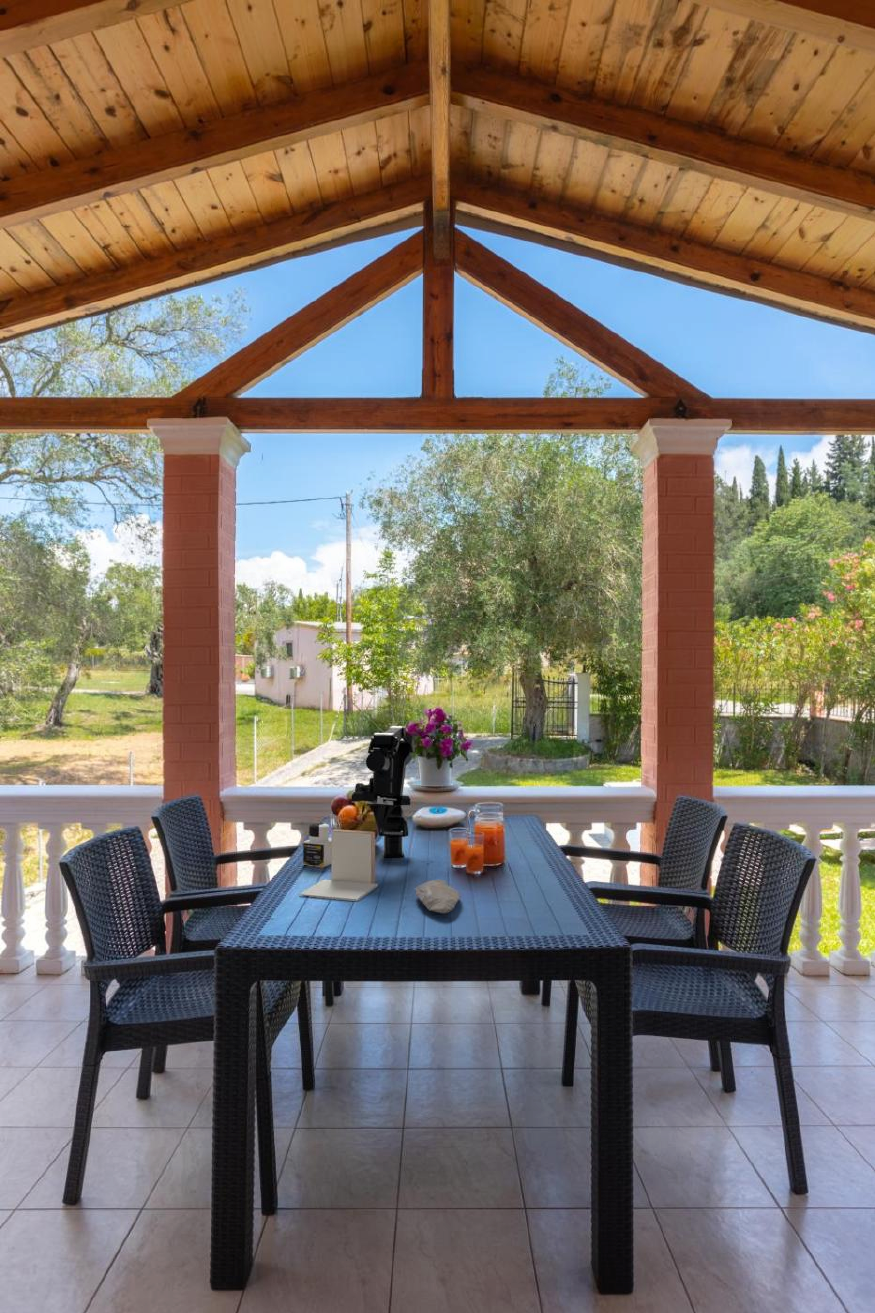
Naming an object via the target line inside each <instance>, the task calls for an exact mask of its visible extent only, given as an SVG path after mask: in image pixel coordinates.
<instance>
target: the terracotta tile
mask: <svg viewBox="0 0 875 1313" xmlns="http://www.w3.org/2000/svg"><path fill="white" fill-rule="evenodd" d="M330 839H331V864H330V865H331V868H330V869H331V874H330V875H331V877H330V878H331V879H330V880H337V881H349V882H361V883H373V884H376V831H370V830H369V831H368V830H367V831H366V830H354V829H353V830H351V829H350V830H349V829H335V828H334V829H332V830H331V838H330Z"/></svg>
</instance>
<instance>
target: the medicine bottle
mask: <svg viewBox="0 0 875 1313" xmlns="http://www.w3.org/2000/svg"><path fill="white" fill-rule="evenodd" d="M308 835H309V836H308V837H309V839H308V840H304V841H303V843H302V844H303V846H302V854H303V856H302V860H303V861H302V865H303V866H304V865H308V866H307V867H313V866H315V867H314V868H325V867H327V866H330V865H331V838H330V825H329V824H327V823H325V822H315V823H312V824H310V825H309V827H308Z"/></svg>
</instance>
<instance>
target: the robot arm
mask: <svg viewBox="0 0 875 1313" xmlns="http://www.w3.org/2000/svg"><path fill="white" fill-rule="evenodd" d="M415 751H416V744H415V740H414V736H413V735H412V734H411V733H409V732H408V731H407V728H406V726H403V725H392V726H389V728H388V729H387V730H386V731H385V732H375V733H373V736H371V739H370V742H369V746H368V750H367V753H368V755H367V756H366V760H365V765H366V767H367V768H368V770H369V771H371V772H373V774H372V777H370V779H369V780H368V781H369V783H368V784H364V783H363V782H361V783H360V782H357V783H355V787H354V792H353V793H352V794H351V799H350V800H351V802H355V803H360V802H367V803H366V804H365V805H366V807H369V808H370V809H371V811H372V813H373V816H374V820H375V823H376V827H377V831H378V834H377V835H378V837H383V851H381V852H382V857H383V858H397V857H398V858H399V857H400V858H403V857H405V853H404V851H403V838H406V837H409V832H410V831H409V825H408V822H407V818H406V815H405V813H404V811H403V808H402V806H411V798H410V796H409V795H403V794H404V784H405V779H406V778H405V777H406V771H407V765H408V764H409V763H410V762H411V761H412V759H413V755H414V753H415Z"/></svg>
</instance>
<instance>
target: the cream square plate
mask: <svg viewBox="0 0 875 1313" xmlns="http://www.w3.org/2000/svg"><path fill="white" fill-rule="evenodd" d="M378 886H379V883H374V884H373V883H361V882H349V881H337V880H331V879H322V880H321V881H319V882H317V883H315V884H313V885H312V886H310V887H308V888H306V889H305V890H304V891H302V892H300V893H299V895H302V896H309V897H308V898H311V897H316V898H315V899H322V898H325V900H334V899H335V901H337V900H338V901H347V902H356V903H357V902H359V901H360V900H361V899H363V898H364V897H365V896H366V895H368V894H369V893H371V892H372V891H373V890H374V889H377V887H378Z"/></svg>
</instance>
